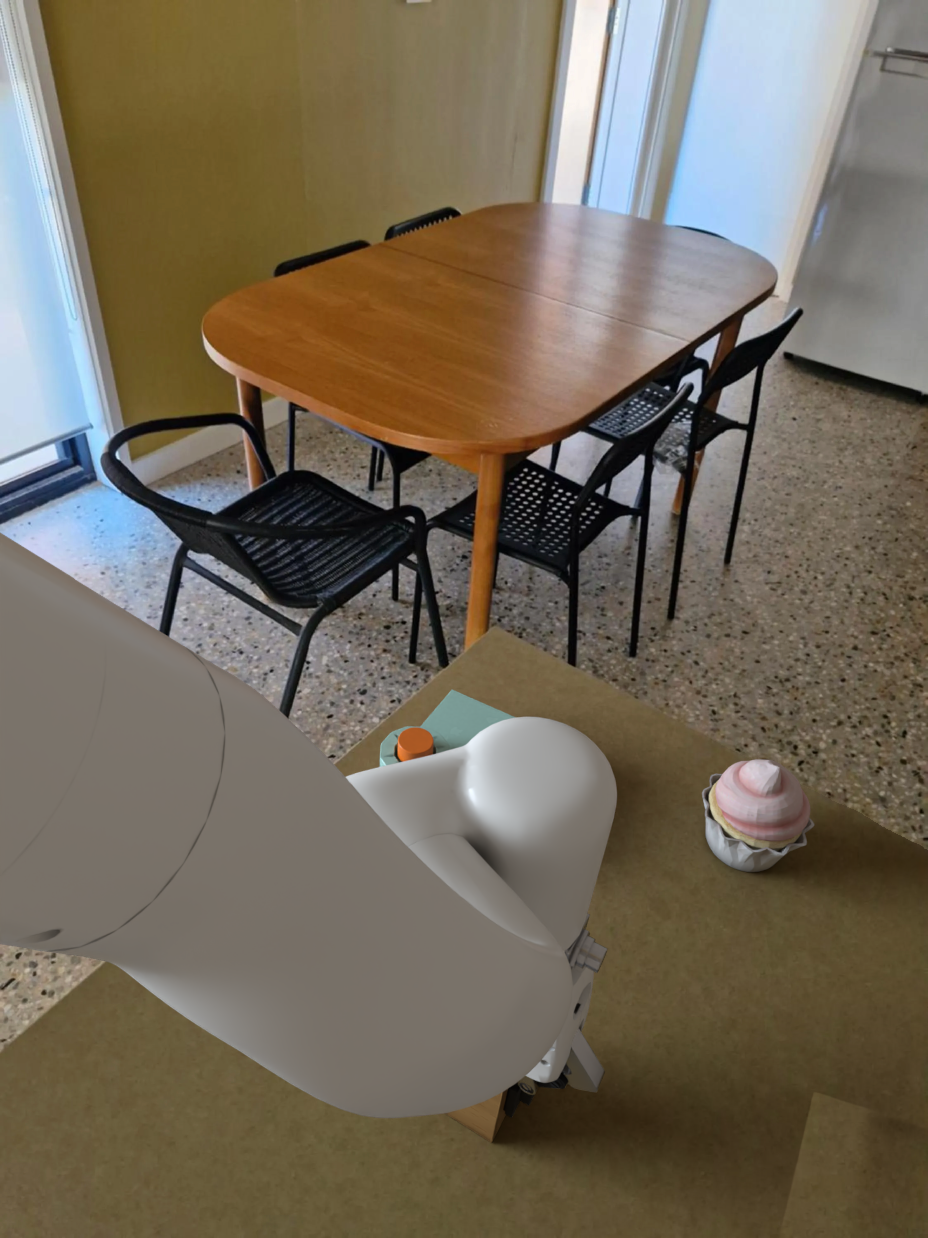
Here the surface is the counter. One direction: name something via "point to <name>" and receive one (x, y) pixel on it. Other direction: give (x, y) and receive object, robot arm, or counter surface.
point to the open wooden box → (483, 1116)
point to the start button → (414, 744)
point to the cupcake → (755, 814)
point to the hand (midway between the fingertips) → (482, 1072)
